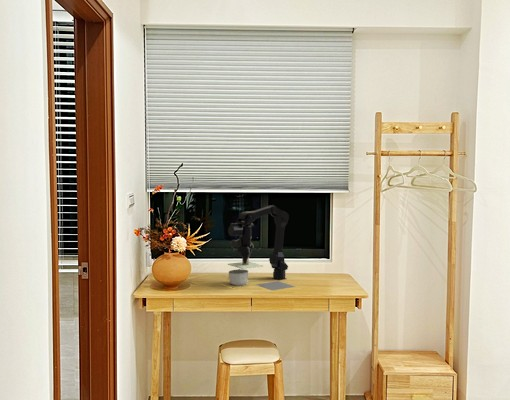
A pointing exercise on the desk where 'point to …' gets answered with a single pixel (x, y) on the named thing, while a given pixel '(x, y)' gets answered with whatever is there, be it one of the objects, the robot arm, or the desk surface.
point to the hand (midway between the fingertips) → (245, 262)
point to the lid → (247, 265)
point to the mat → (275, 285)
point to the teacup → (238, 277)
